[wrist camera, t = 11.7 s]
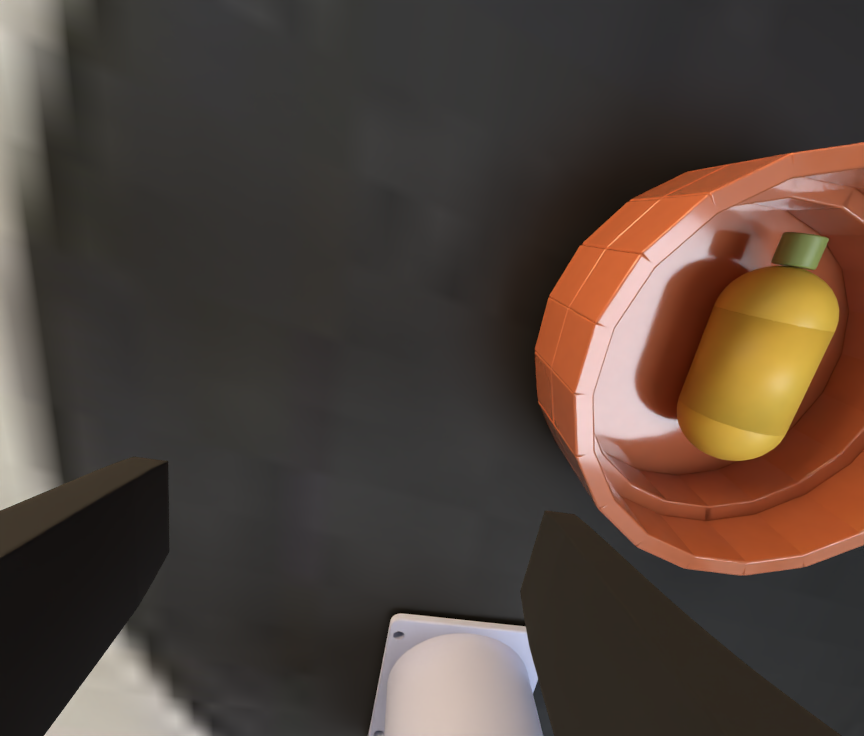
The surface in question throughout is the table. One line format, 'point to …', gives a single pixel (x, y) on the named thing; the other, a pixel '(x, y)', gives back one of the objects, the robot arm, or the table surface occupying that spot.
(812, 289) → the yellow squeeze bottle
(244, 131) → the table surface
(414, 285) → the table surface
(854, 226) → the basin
